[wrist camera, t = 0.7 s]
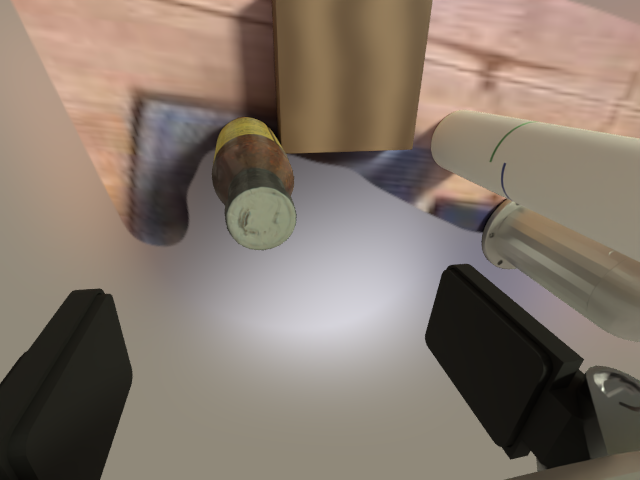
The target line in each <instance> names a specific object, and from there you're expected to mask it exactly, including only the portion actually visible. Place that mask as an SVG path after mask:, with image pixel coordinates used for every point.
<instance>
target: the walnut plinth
mask: <svg viewBox="0 0 640 480" xmlns="http://www.w3.org/2000/svg"><path fill="white" fill-rule="evenodd" d="M431 8H432V0H272V16H273V38H274V60H275V83H276V105H277V128H278V142H279V143H280V145H281V147H282V148H283V150H284V152H285V153H286V154H287V153H318V152H349V151H380V150H411V149H412V147H413V139H414V132H415V125H416V117H417V110H418V103H419V95H420V88H421V81H422V73H423V66H424V59H425V52H426V44H427V37H428V30H429V22H430V15H431Z"/></svg>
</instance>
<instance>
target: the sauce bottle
mask: <svg viewBox="0 0 640 480" xmlns="http://www.w3.org/2000/svg"><path fill="white" fill-rule="evenodd" d="M212 180H213V186H214V189H215V191H216V194H217V195H218V197H219V199H220V200H221V201H222V203H224V205H225V220H226V225H227V229H228V231H229V233H230V234H231V236H232V237H233V238H234V239H235V240H236V241H237V242H238V244H241V245H242V246H244V247H246V248H249V249H254V250H266V249H271V248H274V247H276V246H279V245H281V244H282V243H283V242H284V241H286V240H287V239H288V238H289V237H290V235H291V234H292V232H293V230H294V227H295V225H296V211H295V207H294V204H293V201H292V199H291V194H292V191H293V187H294V176H293V171H292V168H291V165H290V163H289V160H288V158H287V155H286V153H285V152H284V150H283V148H282V147H281V145H280V143H279V142H278V140H277V138H276V137H275V135H274V133H273V132H272V130H271V129H270V128H269V127H267V126H266V124H265V123H263V122H261V121H259V120H257V119H254V118H248V117H240V118H237V119H235V120H233V121H231V122H230V123H228V124H227V125H226V126H225V127H224V128H223V129H222V130H221V132H220V134H219V136H218V139H217V144H216V150H215V156H214V162H213V169H212Z"/></svg>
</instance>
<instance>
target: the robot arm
mask: <svg viewBox="0 0 640 480" xmlns="http://www.w3.org/2000/svg"><path fill="white" fill-rule="evenodd" d="M482 250H483V253H484V255H485V257H486V258H487V260H489V261H490V262H491V263H492V264H493V265H495V266H497V267H499V268H502V269H516V268H517V269H519V270H520V271H522V272H523V273H525V274H526V275H527V276H529V277H530V278H531V279H533V280H534V281H536V282H537V283H539V284H540V285H541V286H543V287H544V288H545V289H547V290H548V291H549V292H551V293H552V294H554V295H555V296H556V297H558V298H559V299H561V300H562V301H564V302H565V303H566V304H568V305H569V306H570V307H572V308H573V309H575V310H576V311H578V312H579V313H580V314H582V315H583V316H584V317H586V318H587V319H589V320H590V321H592V322H593V323H594V324H596V325H597V326H598V327H600V328H601V329H603V330H604V331H606V332H608V333H610V334H612V335H614V336H617V337H619V338H622V339H626V340H630V341H635V342H640V262H638V261H636V260H634V259H632V258H630V257H628V256H626V255H624V254H622V253H620V252H618V251H615V250H613V249H611V248H609V247H607V246H605V245H603V244H601V243H599V242H597V241H595V240H592V239H590V238H588V237H586V236H584V235H582V234H580V233H578V232H576V231H574V230H571V229H569V228H567V227H565V226H563V225H561V224H559V223H557V222H555V221H553V220H551V219H549V218H546V217H544V216H542V215H540V214H538V213H536V212H534V211H532V210H530V209H528V208H526V207H524V206H521V205H519V204H517V203H515V202H513V201H511V200H509V199H507V200H506V201H504V202H503V203H502V204H501V205H500V206H499V207H498V208H497V209H496V210H495V211H494V212H493V214H492V215H491V217H490V218H489V220H488V222H487V224H486V226H485V228H484V231H483V235H482ZM425 340H426V344H427V346H428V348H429V349H430V351H431V352H432V353H433V355H434V356H435V358H436V359H437V361H438V362H439V364H440V365H441V366H442V368H443V369H444V371H445V372H446V374H447V375H448V377H449V378H450V379H451V381H452V382H453V384H454V385H455V386H456V388H457V389H458V391H459V392H460V394H461V395H462V397H463V398H464V399H465V401H466V402H467V404H468V405H469V407H470V408H471V410H472V411H473V413H474V414H475V415H476V417H477V418H478V420H479V421H480V422H481V424H482V426H483V427H484V428H485V430H486V431H487V433H488V434H489V436H490V437H491V438H492V440H493V441H494V442H495V444H497V445H498V446H500V447H502V448H503V450H504V451H505V453H506V454H507V455H508V457H509V458H510V459H515V458H519V457H523V456H527V455H528V454H529V452H530V451H532V452H533V454H534V455H535V456H536V458H537V471H538V472H534V473H531V474H526V475H522V476H518V477H514V478H510V479H506V480H640V380H638V379H636V378H634V377H632V376H631V375H629V374H627V373H624V372H622V371H620V370H617V369H614V368H610V367H606V366H593V367H590V368H589V369H588V370H587V371H586V373H585V374H583V373H582V372H581V371H580V370H579V367H580V366H581V364H582V362H583V360H584V359H583V358H581V357H580V356H579V355H578V354H577V353H576V352H574V351H573V350H572V349H571V348H570V347H568V346H567V345H566V344H565V343H564V342H562V341H561V340H560V339H558V337H556V336H555V335H554V334H553V333H552V332H550V331H549V330H548V329H547V328H546V327H544V326H543V325H542V324H540V323H539V322H538V321H537V320H536V319H535V318H533V317H532V316H531V315H530V314H529V313H528V312H526V311H525V310H524V309H523V308H522V307H520V306H519V305H518V304H517V303H516V302H514V301H513V300H512V299H511V298H510V297H508V296H507V295H506V294H505V293H503V292H502V291H501V290H500V289H499V288H498V287H496V286H495V285H494V284H493V283H492V282H490V281H489V280H488V279H487V278H486V277H484V276H483V275H482V274H481V273H479V272H478V271H477V270H476V269H475V268H474V267H472V266H471V265H469V264H458V265H450V266H448V268H447V269H446V270H444V271H443V273H442V276H441V280H440V284H439V287H438V290H437V294H436V298H435V301H434V305H433V308H432V312H431V316H430V319H429V323H428V327H427V330H426V334H425ZM131 384H132V368H131V364H130V360H129V357H128V353H127V349H126V346H125V341H124V338H123V334H122V330H121V326H120V323H119V319H118V315H117V311H116V308H115V304H114V300H113V297H112V295H111V294H105V293H104V291H103V290H102V289H86V290H75V291H72V292H71V293H70V294H69V296H68V297H67V298H66V300H65V301H64V302H63V304H62V305H61V306H60V308H59V309H58V311H57V312H56V313H55V315H54V316H53V318H52V319H51V320H50V321H49V323H48V324H47V325H46V327H45V328H44V330H43V331H42V332H41V334H40V335H39V336H38V338H37V339H36V340H35V342H34V343H33V344H32V346H31V347H30V348H29V350H28V351H27V352H25V353H24V354H23V355H22V356H21V357H20V358H19V359H18V361H17V362H16V363H15V365H14V366H13V367H12V369H11V370H10V371H9V373H8V374H7V375H6V377H5V378H4V379H3V381H2V382H1V384H0V480H100V478H101V475H102V472H103V469H104V466H105V463H106V460H107V457H108V454H109V451H110V448H111V445H112V441H113V439H114V436H115V433H116V430H117V427H118V424H119V420H120V417H121V414H122V411H123V408H124V405H125V402H126V399H127V396H128V393H129V390H130V387H131Z"/></svg>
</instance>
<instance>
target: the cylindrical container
mask: <svg viewBox="0 0 640 480" xmlns="http://www.w3.org/2000/svg"><path fill="white" fill-rule="evenodd" d="M431 153H432V156H433V159H434V161H435V162H436V163H437V164H438V165H439V166H440V167H442V168H444V169H446V170H448V171H450V172H452V173H455V174H457V175H459V176H461V177H463V178H465V179H467V180H469V181H471V182H473V183H475V184H477V185H480V186H482V187H484V188H486V189H488V190H490V191H492V192H494V193H496V194H498V195H501V196H503V197H505V198H507V199H509V200H511V201H513V202H515V203H517V204H519V205H521V206H524V207H526V208H528V209H530V210H532V211H534V212H536V213H538V214H540V215H542V216H544V217H546V218H549V219H551V220H553V221H555V222H557V223H559V224H561V225H563V226H565V227H567V228H569V229H571V230H574V231H576V232H578V233H580V234H582V235H584V236H586V237H588V238H590V239H592V240H595V241H597V242H599V243H601V244H603V245H605V246H607V247H609V248H611V249H613V250H615V251H618V252H620V253H622V254H624V255H626V256H628V257H630V258H632V259H634V260H636V261H638V262H640V139H638V138H632V137H626V136H620V135H614V134H608V133H602V132H596V131H590V130H584V129H578V128H572V127H566V126H560V125H554V124H548V123H542V122H536V121H530V120H524V119H518V118H512V117H506V116H500V115H494V114H488V113H482V112H476V111H470V110H459V111H455V112H453V113H451V114H449V115H448V116H446V117H445V118H444V119H443V120H442V121H441V122H440V123H439V125H438V126H437V128H436V129H435V132H434V134H433V137H432V140H431Z"/></svg>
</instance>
